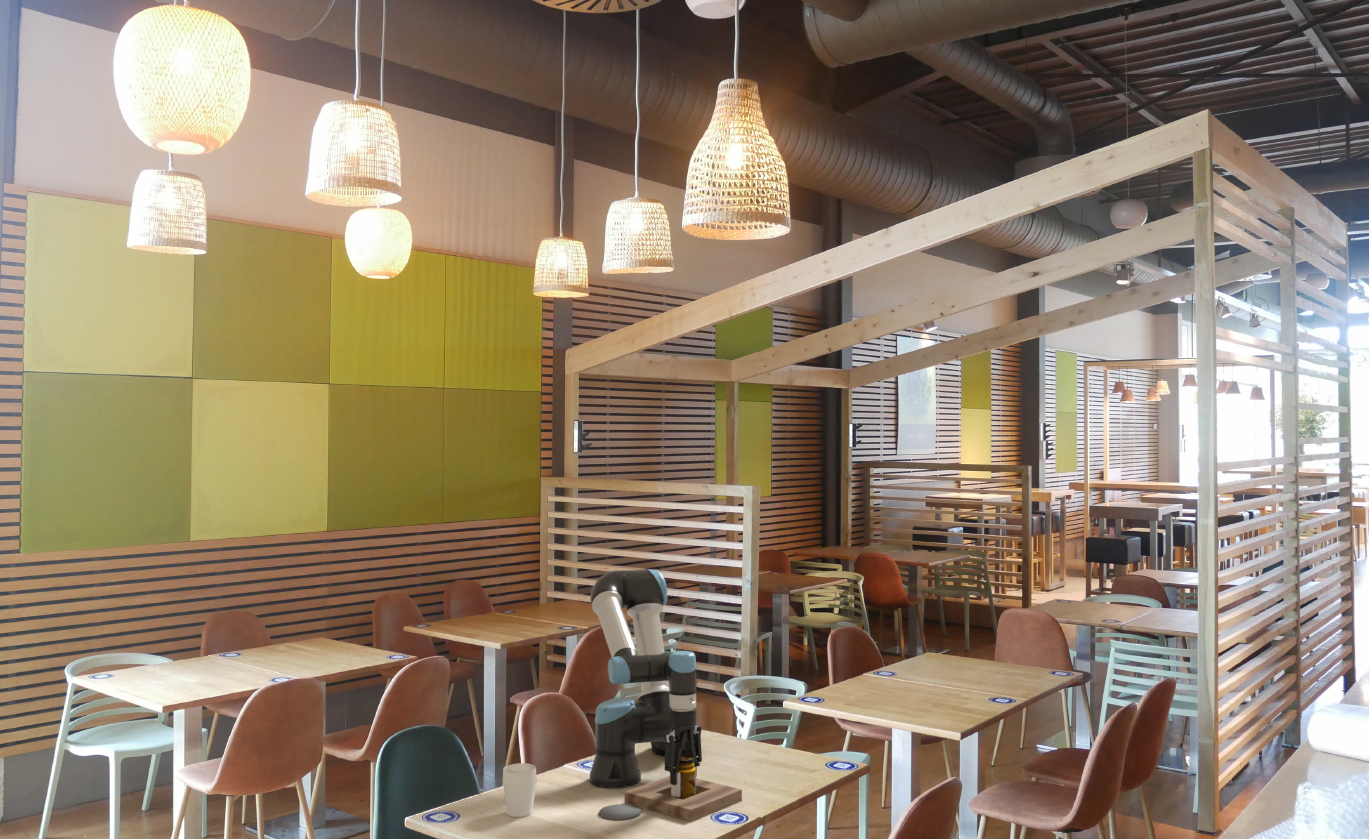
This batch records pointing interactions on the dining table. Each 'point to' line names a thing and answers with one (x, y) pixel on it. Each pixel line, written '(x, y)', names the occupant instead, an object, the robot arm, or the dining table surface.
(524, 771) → the cup
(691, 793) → the condiment
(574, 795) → the dining table surface
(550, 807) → the dining table surface
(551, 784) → the dining table surface
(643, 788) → the holder board
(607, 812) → the coaster
